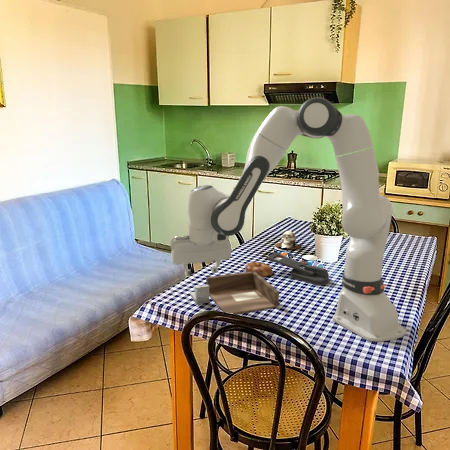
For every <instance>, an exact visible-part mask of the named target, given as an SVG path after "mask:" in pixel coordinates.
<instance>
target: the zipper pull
mask: <svg viewBox="0 0 450 450" xmlns="http://www.w3.org/2000/svg"><path fill="white" fill-rule="evenodd" d="M277 258H281V259H277ZM267 261H269V262H273V263H276V264H278V265H281V266H285V267H288V268H291V269H292V270H291V271H290V272H291V273H290V278H291V279H293V280H297V281H301V282H304V283H308V284H310V285H313V286H323V285H327V284H328V283H329V280H330V279H329V277H330V274H329V273H328V270H327V269H326V268H323V267H319V266H317V265H316V266H315V265H310V264H305V263H303V262H301V261H298V260H295V259H293V258H290V257H287V256H286V255H284V254H280V253H278V252H275V253H271V254H270V255H268V257H267Z"/></svg>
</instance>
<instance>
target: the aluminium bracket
mask: <svg viewBox="0 0 450 450" xmlns="http://www.w3.org/2000/svg"><path fill="white" fill-rule="evenodd" d="M194 289H195V291H191V292H189V293H190V294H189V295H190V297H191V298H192V300H193V301H194V302H195V304H196V305H200V304H206V303H207V304H208V303H210V296H209V285H206V284H202V285H195V286H194Z"/></svg>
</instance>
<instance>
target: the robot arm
mask: <svg viewBox="0 0 450 450" xmlns="http://www.w3.org/2000/svg"><path fill="white" fill-rule="evenodd" d="M299 136H303V137H305V138H306V137H307V138H311V139H322V138H325V137H326V138H327V139H329V141H330V143H331V144H332V148H333V152H334V156H335V160H336V165H337V170H338V175H339V179H340V187H341V205H342V206H341V207H342V215H341V216H342V217H341V226H342V230H344V232H345V233H346V234H347V235H348V236H349V241H348V244H347V247H346V249H345V258H344V259H345V262H344V271H343V273H342V277H341V285H342V287H341V291H340V293H339V295H338V300H337V306H336V310H335V314H333V316H332V321H333V322H334V323H336V324H338V325H339V326H341V327H343V328H345V329H347V330H349V331H351V332H353V333H354V334H356V335H358V336H359V337H361V338H363V339H365V340H367V341H371V342H385V341H392V340H396V339H399V338H402V337H404V336H405V335H406V333H407V329H406V328H405V327H403V326H402V325H401V324H400V323H399V313H398V311H397V310H396V309H397V308H396V305H395V304H394V303H392V302H391V300H390V298H389V297H388V295H387V294H386V293H385V289H387V288H388V287H387V286H388V284H384V280H383V276H382V272H383V264H384V263H383V262H384V256H385V251H386V246H387V242H388V237H389V233H390V227H391V221H392V215H393V210H394V209H393V204H392V202H391V200H390V199H389V198H387V197H386V196H384V195H382V194H380V185H379V184H380V183H379V181H380V180H379V179H380V171H379V166H378V162H377V158H376V157H377V156H376V152H375V149H374V144H373V140H372V137H371V134H370V131H369V128H368V126H367V124H366V121H365V119H364V117H362V116H361V115H359V114H354V113H350V114H345V115H342V113H341V112H340V111H339V109H337V107H336V106H335V105H334V104H333V103H332V102H330V101H329V100H328V99H326V98H324V97H320V96H319V97H312V98H309V99H307V100H306V101H304V102H303V103H302V104H301V106H300V107H299V108H298V110H294V109H293V108H291V107H289V106H285V105H284V106H283V105H280V106H276V107H275V108H273V110H272V111H270V113H269V114H268V115H267V116H266V117H265V119H264V120H263V121H262V123H261V124H260V126H259V127H258V129H257V130H256V132H255V134H254V135H253V137H252V139H251V141H250V144H249V146H248V149H247V152H246V157H245V158H246V159H245V165H244V168H243V171H242V173H241V175H240V177H239V179H238V180H237V182H236V184H235V186H234V188H233V190H231V193H230V195H229V194H227V193H224V192H222V191H219V190H218V189H217V188H215V186H213V185H209V184H208V185H207V184H205V185H204V184H203V185H199V186H196V187H194V188H192V189H191V191H190V192H189V195H188V201H187V202H188V203H187V204H188V205H187V215H188V217H189V218H188V219H189V220H188V225H187V235H183V236H178V235H177V236H175V237H174V238H172V239H171V240H170V249H171V252H170V253H171V254H170V260H171V262H172V264H173V265H174V266H179V265H181V266H182V268H183V269H184V274H185V276H186V277H189V276H191V275H192V274H191V269H189V268H187V267H188V265H189V264H198V263H209V262H215V263H214V265H212V266H211V273H213V274H216V273H218V268H219V266H220V265H221V262H222V261H225V260H226V261H227V260H230V258H231V257H232V248H231V247H232V245H231V242H230V241H229V239H230V237H231V236H234V235H236V234H238V233H239V232H241V230H242V228H244V224H245V217H246V212H247V210H248V207H249V205H250V204H251V202H252V200H253V199H254V197H255V195H256V193H257V192H258V190H259V188H260V186H261V185H262V183H263V182H264V180H265V179H266V178H267V177H268V175H269V174H270V173H271V172H272V171H273V169H275V167H276V166H277V165H278V164H279V163H280V161H281V160H282V159H283V157H284V156H285V154H286V153H287V151H288V149H289V148H290V147H291V145H292V143H293V142H294V141H295V139H296V138H297V137H299Z"/></svg>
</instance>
